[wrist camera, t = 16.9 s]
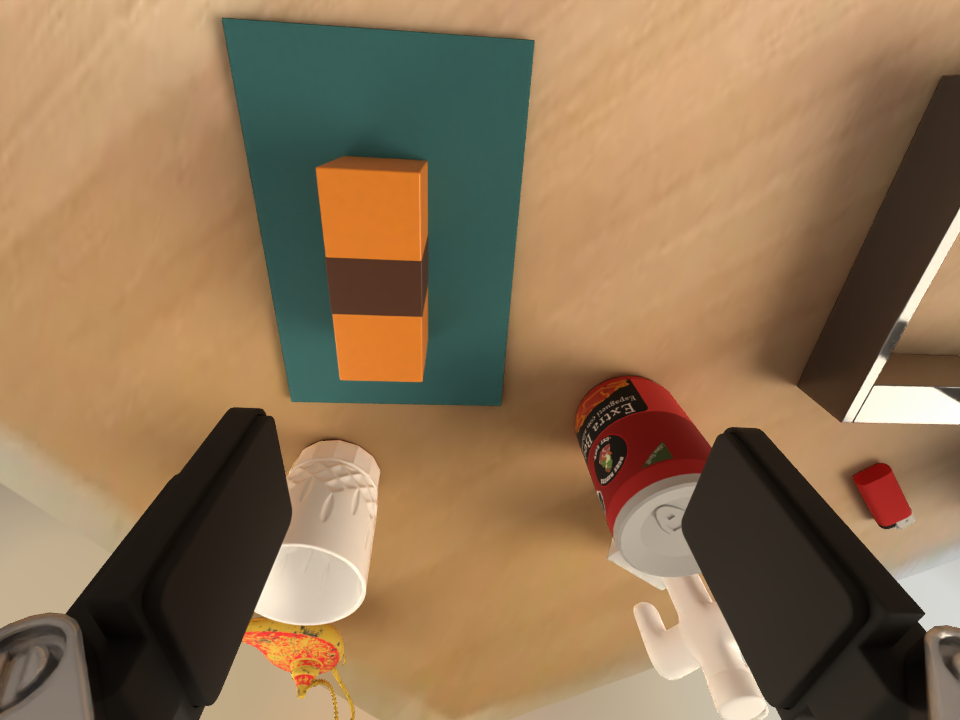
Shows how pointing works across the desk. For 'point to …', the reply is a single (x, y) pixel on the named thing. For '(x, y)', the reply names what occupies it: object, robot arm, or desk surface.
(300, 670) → the magic lamp
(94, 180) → the desk surface
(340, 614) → the white cup
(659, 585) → the figurine
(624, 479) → the canned food
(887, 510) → the lighter
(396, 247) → the orange striped block
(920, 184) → the sink basin
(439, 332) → the mat
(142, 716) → the robot arm
